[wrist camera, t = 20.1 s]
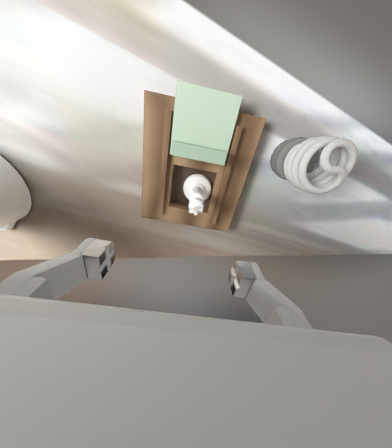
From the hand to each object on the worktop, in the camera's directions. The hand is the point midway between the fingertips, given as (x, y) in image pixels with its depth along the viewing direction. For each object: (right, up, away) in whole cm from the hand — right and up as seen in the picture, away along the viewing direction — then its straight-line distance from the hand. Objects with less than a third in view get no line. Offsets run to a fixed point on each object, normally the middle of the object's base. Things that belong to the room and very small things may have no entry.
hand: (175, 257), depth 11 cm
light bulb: (+15, +13, +15) cm, 25 cm away
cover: (+2, +15, +11) cm, 19 cm away
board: (+1, +11, +16) cm, 19 cm away
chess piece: (+2, +9, +17) cm, 19 cm away
